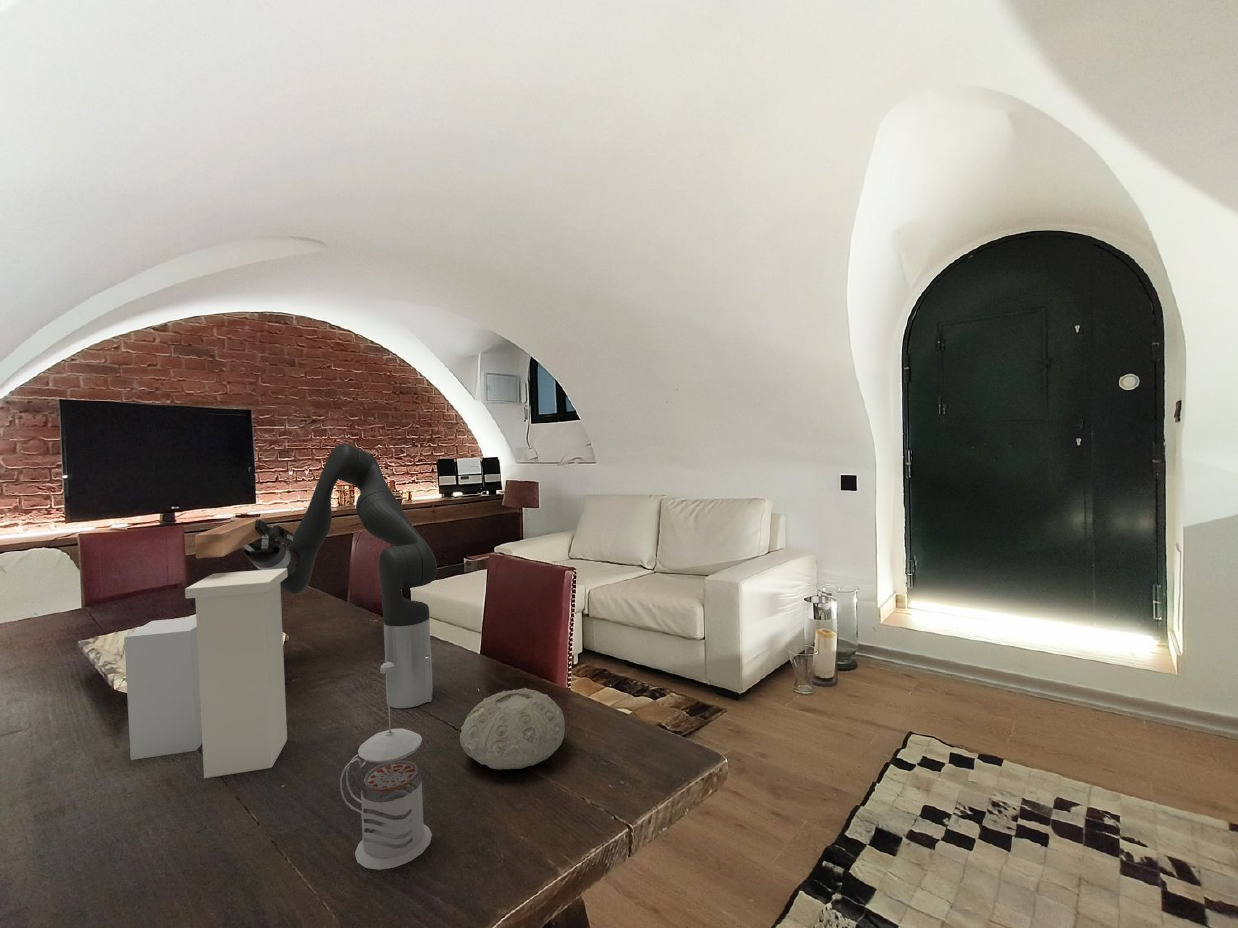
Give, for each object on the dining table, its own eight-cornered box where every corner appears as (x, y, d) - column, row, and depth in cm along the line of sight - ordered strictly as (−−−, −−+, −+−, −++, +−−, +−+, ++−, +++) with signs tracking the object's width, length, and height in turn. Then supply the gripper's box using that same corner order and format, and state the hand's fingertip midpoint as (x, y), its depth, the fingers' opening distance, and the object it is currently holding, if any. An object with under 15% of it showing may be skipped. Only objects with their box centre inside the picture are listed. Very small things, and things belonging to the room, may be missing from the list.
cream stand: (294, 736, 111) (287, 568, 110) (276, 769, 100) (268, 582, 99) (221, 746, 108) (213, 573, 107) (194, 782, 97) (185, 588, 96)
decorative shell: (481, 797, 91) (479, 733, 90) (448, 748, 106) (446, 693, 106) (583, 761, 100) (581, 703, 100) (539, 721, 115) (538, 670, 115)
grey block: (217, 725, 117) (211, 615, 116) (196, 750, 107) (190, 630, 106) (157, 733, 114) (151, 620, 113) (130, 759, 104) (124, 636, 104)
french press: (416, 869, 75) (409, 676, 75) (327, 869, 76) (319, 677, 75) (441, 820, 85) (435, 649, 84) (362, 820, 86) (355, 650, 85)
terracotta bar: (265, 535, 126) (264, 517, 126) (222, 556, 103) (221, 533, 103) (244, 536, 125) (243, 518, 125) (196, 558, 102) (195, 535, 102)
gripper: (235, 539, 134) (207, 508, 120) (304, 535, 138) (285, 505, 124) (230, 570, 131) (201, 543, 116) (301, 565, 135) (281, 538, 120)
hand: (244, 524), depth 120 cm, fingers closed on terracotta bar, 4 cm apart
